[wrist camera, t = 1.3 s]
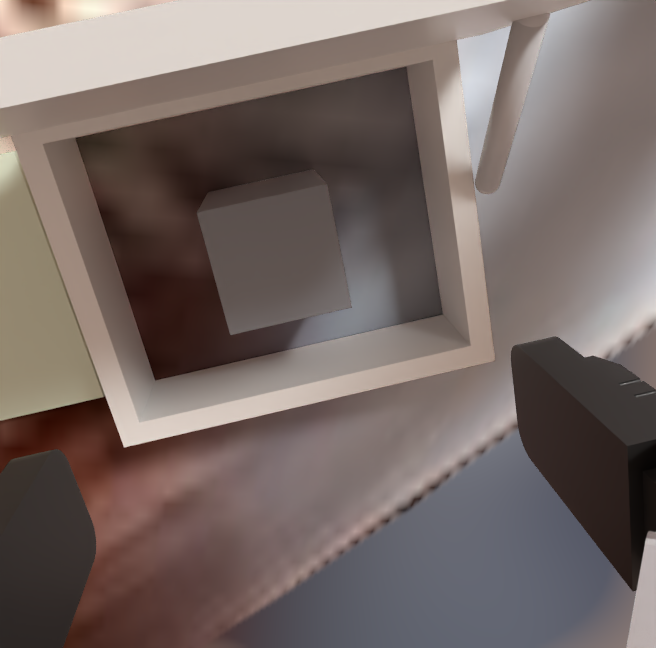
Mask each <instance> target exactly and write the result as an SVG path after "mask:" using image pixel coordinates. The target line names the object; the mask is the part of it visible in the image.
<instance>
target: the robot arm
mask: <svg viewBox="0 0 656 648" xmlns="http://www.w3.org/2000/svg"><path fill="white" fill-rule="evenodd" d="M511 365H512V374H513V384H514V393H515V403H516V412H517V421H518V428H519V433H520V437H521V440H522V443H523V446H524V448H525V450H526V452H527V454H528V456H529V458H530V459H531V461H532V462H533V463H534V464H535V466H536V467H537V468H538V469H539V471H540V472H541V473H542V475H543V476H544V477H545V479H546V480H547V481H548V482H549V484H550V485H551V486H552V488H553V489H554V490H555V492H557V494H558V495H559V497H560V498H561V499H562V501H563V502H564V503H565V504H566V506H567V507H568V508H569V509H570V511H571V512H572V513H573V515H574V516H575V517H576V519H577V520H578V521H579V523H580V524H581V525H582V526H583V528H584V529H585V530H586V532H587V533H588V534H589V535H590V537H591V538H592V539H593V541H594V542H595V543H596V545H597V546H598V547H599V548H600V550H601V551H602V552H603V554H604V555H605V556H606V557H607V559H608V560H609V561H610V563H611V564H612V565H613V566H614V568H615V569H616V570H617V572H618V573H619V574H620V575H621V577H622V578H623V579H624V581H625V582H626V583H627V584H628V586H629V587H630V588H631V590H632V591H636V590H637V591H636V597H635V603H634V609H633V614H632V619H631V625H630V631H629V636H628V642H627V648H656V390H655V389H654V388H653V387H651V386H650V385H649V384H647V383H646V382H644V381H642V382H641V381H640V378H639V377H637V376H636V375H634V374H633V373H632V372H630V371H628V370H627V369H626V368H625V367H623V366H622V365H620V364H617V363H614V362H611V361H608V360H604V359H601V358H598V357H595V356H590V357H585V358H584V357H583V356H582V355H581V354H579V353H578V352H577V351H575V350H574V349H573V348H571V347H570V346H569V345H568V344H566V343H565V342H564V341H562V340H561V339H560V338H558V337H550V338H546V339H542V340H537V341H533V342H528V343H524V344H520V345H515V346H514V347H513V348H512V351H511ZM95 554H96V537H95V531H94V526H93V523H92V520H91V518H90V515H89V513H88V510H87V508H86V505H85V502H84V500H83V497H82V495H81V492H80V490H79V487H78V485H77V482H76V480H75V477H74V475H73V472H72V470H71V467H70V465H69V462H68V460H67V458H66V457H65V455H64V454H63V453H62V452H61V451H60V450H57V449H55V450H51V451H46V452H42V453H38V454H33V455H29V456H25V457H20V458H16V459H12V460H11V461H10V462H9V463H8V464H7V465H6V467H5V468H4V470H3V471H2V473H1V474H0V648H63V646H64V643H65V640H66V637H67V635H68V632H69V629H70V626H71V624H72V621H73V618H74V615H75V612H76V610H77V607H78V604H79V601H80V598H81V596H82V593H83V590H84V587H85V584H86V582H87V579H88V576H89V573H90V571H91V568H92V565H93V562H94V559H95Z"/></svg>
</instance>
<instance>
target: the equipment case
mask: <svg viewBox="0 0 656 648" xmlns="http://www.w3.org/2000/svg"><path fill="white" fill-rule="evenodd" d="M587 1H590V0H176V1H172V2H167V3H162V4H157V5H153V6H148V7H143V8H138V9H133V10H129V11H124V12H119V13H114V14H110V15H105V16H100V17H95V18H91V19H86V20H81V21H76V22H71V23H67V24H62V25H57V26H52V27H48V28H43V29H38V30H33V31H28V32H24V33H19V34H14V35H9V36H5V37H0V138H3V137H8V136H11V138H12V140H13V143H14V146H15V149H16V151H17V154H18V157H19V160H20V162H21V165H22V168H23V171H24V173H25V176H26V179H27V182H28V184H29V187H30V190H31V193H32V195H33V198H34V201H35V204H36V206H37V209H38V212H39V215H40V217H41V220H42V223H43V226H44V228H45V231H46V234H47V237H48V239H49V242H50V245H51V248H52V250H53V253H54V256H55V259H56V261H57V264H58V267H59V270H60V272H61V275H62V278H63V281H64V283H65V286H66V289H67V292H68V294H69V297H70V300H71V303H72V305H73V308H74V311H75V314H76V316H77V319H78V322H79V325H80V327H81V330H82V333H83V336H84V338H85V341H86V344H87V347H88V349H89V352H90V355H91V358H92V360H93V363H94V366H95V369H96V371H97V374H98V377H99V380H100V382H101V385H102V388H103V391H104V394H105V396H106V399H107V402H108V405H109V407H110V410H111V413H112V416H113V418H114V421H115V424H116V427H117V429H118V432H119V435H120V438H121V440H122V443H123V446H124V447H128V446H133V445H137V444H141V443H145V442H150V441H154V440H158V439H163V438H167V437H171V436H175V435H180V434H184V433H188V432H193V431H197V430H201V429H205V428H210V427H214V426H218V425H223V424H227V423H231V422H236V421H240V420H244V419H248V418H253V417H257V416H261V415H266V414H270V413H274V412H278V411H283V410H287V409H291V408H296V407H300V406H304V405H308V404H313V403H317V402H321V401H326V400H330V399H334V398H338V397H343V396H347V395H351V394H356V393H360V392H364V391H368V390H373V389H377V388H381V387H386V386H390V385H394V384H398V383H403V382H407V381H411V380H416V379H420V378H424V377H429V376H433V375H437V374H441V373H446V372H450V371H454V370H459V369H463V368H467V367H471V366H476V365H480V364H484V363H489V362H493V361H495V356H494V348H493V339H492V331H491V323H490V314H489V306H488V298H487V289H486V281H485V273H484V264H483V256H482V248H481V239H480V231H479V223H478V214H477V206H476V198H475V189H474V181H473V173H472V164H471V156H470V148H469V139H468V131H467V123H466V114H465V106H464V98H463V89H462V81H461V73H460V64H459V56H458V48H457V40H459V39H464V38H469V37H473V36H478V35H482V34H486V33H489V32H492V31H495V30H498V29H501V28H505V27H508V26H511V25H512V26H511V30H510V34H509V39H508V43H507V47H506V51H505V56H504V60H503V64H502V68H501V73H500V77H499V81H498V85H497V90H496V94H495V98H494V102H493V107H492V111H491V115H490V119H489V124H488V128H487V132H486V136H485V141H484V145H483V149H482V153H481V158H480V162H479V166H478V170H477V175H476V179H475V185H476V188H477V190H478V191H479V192H481V193H483V194H492V193H494V192H495V191H496V190H497V189H498V188H499V186H500V183H501V180H502V176H503V173H504V169H505V166H506V163H507V159H508V156H509V152H510V149H511V146H512V142H513V139H514V136H515V132H516V129H517V125H518V122H519V119H520V115H521V112H522V108H523V105H524V102H525V98H526V95H527V92H528V88H529V85H530V81H531V78H532V75H533V71H534V68H535V64H536V61H537V58H538V54H539V51H540V47H541V44H542V41H543V37H544V34H545V31H546V27H547V24H548V20H549V16H550V13H552V12H555V11H558V10H561V9H564V8H568V7H571V6H574V5H577V4H580V3H583V2H587ZM402 67H406V68H407V75H408V81H409V88H410V95H411V102H412V109H413V115H414V122H415V129H416V136H417V142H418V149H419V156H420V163H421V170H422V176H423V183H424V190H425V197H426V204H427V210H428V217H429V224H430V231H431V237H432V244H433V251H434V258H435V265H436V271H437V278H438V285H439V292H440V298H441V305H442V312H443V314H442V315H438V316H434V317H429V318H425V319H421V320H416V321H412V322H408V323H403V324H399V325H395V326H390V327H386V328H381V329H377V330H373V331H368V332H364V333H360V334H355V335H351V336H347V337H342V338H338V339H334V340H329V341H325V342H321V343H316V344H312V345H308V346H303V347H299V348H294V349H290V350H286V351H281V352H277V353H273V354H268V355H264V356H260V357H255V358H251V359H247V360H242V361H238V362H234V363H229V364H225V365H221V366H216V367H212V368H208V369H203V370H199V371H194V372H190V373H186V374H181V375H177V376H173V377H168V378H164V379H160V380H155V379H154V376H153V373H152V369H151V366H150V363H149V360H148V357H147V354H146V351H145V348H144V345H143V342H142V339H141V336H140V333H139V330H138V327H137V324H136V321H135V318H134V315H133V312H132V309H131V306H130V303H129V300H128V297H127V294H126V291H125V288H124V284H123V281H122V278H121V275H120V272H119V269H118V266H117V263H116V260H115V257H114V254H113V251H112V248H111V245H110V242H109V239H108V236H107V233H106V230H105V227H104V224H103V221H102V218H101V215H100V212H99V209H98V206H97V203H96V200H95V196H94V193H93V190H92V187H91V184H90V181H89V178H88V175H87V172H86V169H85V166H84V163H83V160H82V157H81V154H80V151H79V148H78V145H77V142H76V139H75V138H78V137H83V136H87V135H92V134H97V133H101V132H106V131H110V130H115V129H120V128H124V127H129V126H134V125H138V124H143V123H148V122H152V121H157V120H161V119H166V118H171V117H175V116H180V115H185V114H189V113H194V112H199V111H203V110H208V109H212V108H217V107H222V106H226V105H231V104H236V103H240V102H245V101H249V100H254V99H259V98H263V97H268V96H273V95H277V94H282V93H287V92H291V91H296V90H300V89H305V88H310V87H314V86H319V85H324V84H328V83H333V82H338V81H342V80H347V79H351V78H356V77H361V76H365V75H370V74H375V73H379V72H384V71H388V70H393V69H398V68H402Z"/></svg>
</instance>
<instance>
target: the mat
mask: <svg viewBox="0 0 656 648" xmlns="http://www.w3.org/2000/svg"><path fill="white" fill-rule="evenodd" d="M104 395H105V394H104V391H103V388H102V385H101V382H100V380H99V377H98V374H97V371H96V369H95V366H94V363H93V360H92V358H91V355H90V352H89V349H88V347H87V344H86V341H85V338H84V336H83V333H82V330H81V327H80V325H79V322H78V319H77V316H76V314H75V311H74V308H73V305H72V303H71V300H70V297H69V294H68V292H67V289H66V286H65V283H64V281H63V278H62V275H61V272H60V270H59V267H58V264H57V261H56V259H55V256H54V253H53V250H52V248H51V245H50V242H49V239H48V237H47V234H46V231H45V228H44V226H43V223H42V220H41V217H40V215H39V212H38V209H37V206H36V204H35V201H34V198H33V195H32V193H31V190H30V187H29V184H28V182H27V179H26V176H25V173H24V171H23V168H22V165H21V162H20V160H19V157H18V154H17V151H12V152H8V153H3V154H0V421H1V420H6V419H10V418H14V417H19V416H23V415H27V414H32V413H36V412H40V411H45V410H49V409H53V408H58V407H62V406H66V405H71V404H75V403H79V402H84V401H88V400H93V399H97V398H101V397H104Z"/></svg>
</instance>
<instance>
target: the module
mask: <svg viewBox="0 0 656 648" xmlns="http://www.w3.org/2000/svg"><path fill="white" fill-rule="evenodd" d="M197 216H198V220H199V223H200V227H201V231H202V234H203V238H204V242H205V245H206V249H207V252H208V256H209V260H210V263H211V267H212V271H213V274H214V278H215V282H216V285H217V289H218V292H219V296H220V300H221V303H222V307H223V311H224V314H225V318H226V321H227V325H228V329H229V332H230V335H233V334H238V333H242V332H246V331H251V330H255V329H260V328H264V327H268V326H273V325H277V324H282V323H286V322H290V321H295V320H299V319H303V318H308V317H312V316H317V315H321V314H325V313H330V312H334V311H338V310H343V309H347V308H352V306H351V301H350V296H349V291H348V286H347V281H346V275H345V270H344V265H343V260H342V255H341V250H340V245H339V240H338V235H337V230H336V225H335V220H334V215H333V210H332V205H331V200H330V195H329V190H328V185H327V183H326V182H325V181H324V180H323V179H322V178H321V177H320V176H319V174H318V173H317V172H316V171H315V170H314V169H311V170H307V171H302V172H298V173H293V174H288V175H284V176H279V177H275V178H270V179H266V180H261V181H257V182H252V183H248V184H243V185H238V186H234V187H229V188H225V189H220V190H216V191H211V192H208V193H207V195H206V197H205V198H204V200H203V202H202V204H201V206H200V208H199V209H198V211H197Z"/></svg>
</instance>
